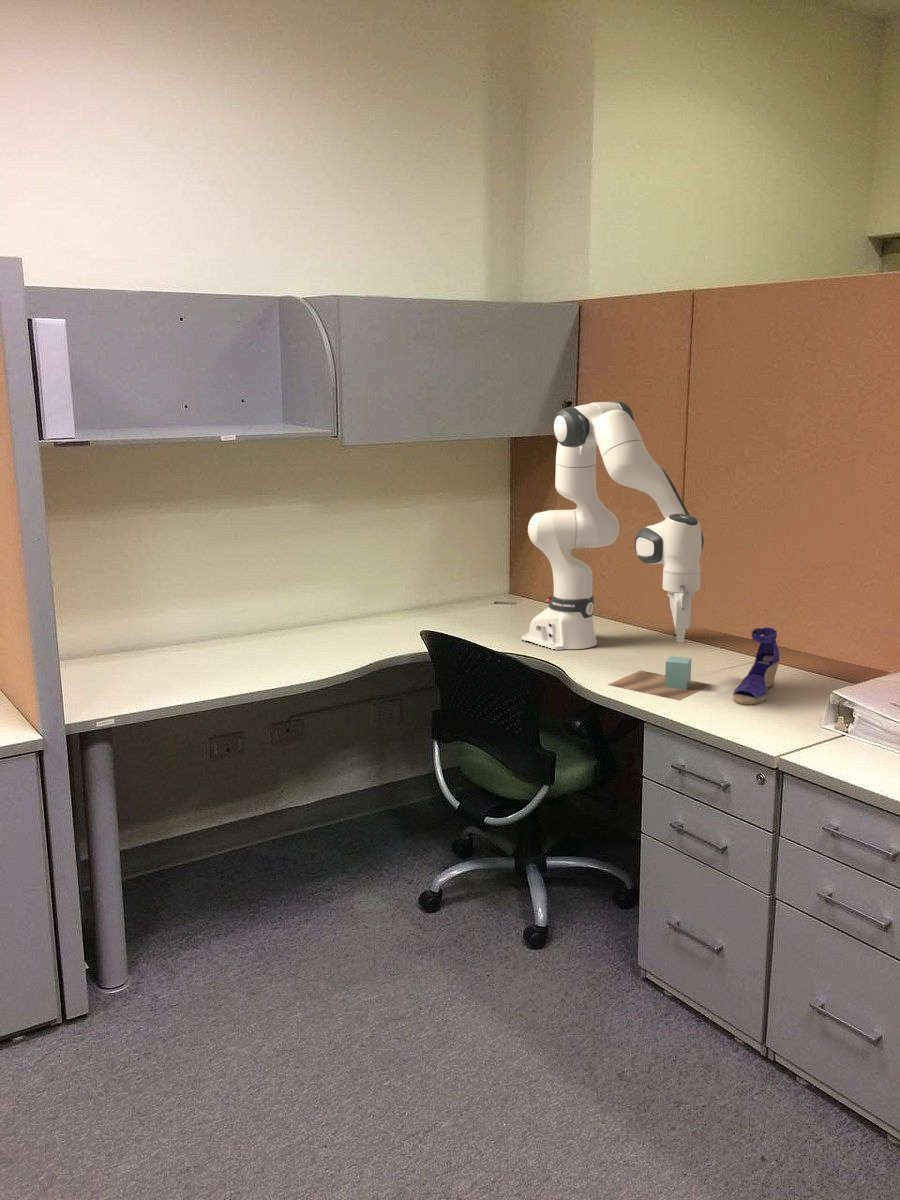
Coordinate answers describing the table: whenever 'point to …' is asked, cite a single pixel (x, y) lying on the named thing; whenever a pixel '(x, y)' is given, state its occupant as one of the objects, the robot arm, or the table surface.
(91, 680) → the table surface
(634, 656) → the table surface
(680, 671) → the teal rectangular block
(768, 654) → the sandal
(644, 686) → the board
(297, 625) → the table surface
